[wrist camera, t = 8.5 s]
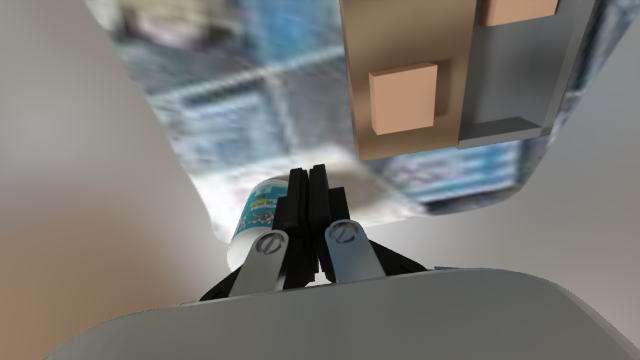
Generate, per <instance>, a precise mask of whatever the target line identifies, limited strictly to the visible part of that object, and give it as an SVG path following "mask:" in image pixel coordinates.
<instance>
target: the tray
mask: <svg viewBox="0 0 640 360" xmlns="http://www.w3.org/2000/svg"><path fill="white" fill-rule="evenodd" d="M594 3H595V0H558V2H557V6H556V9H555V13H554V15H550V16H545V17H539V18H534V19H528V20H523V21H517V22H512V23H506V24H501V25H495V26H479V24H480V17H481V11H482V4H483V0H477V1H476V8H475V16H474V23H473V31H472V38H471V46H470V54H469V61H468V69H467V76H466V84H465V91H464V99H463V107H462V114H461V122H460V129H459V137H458V144H457V146H455V147H456V148H457V149H459V150H460V149H466V148H472V147H478V146H485V145H491V144H497V143H503V142H509V141H515V140H522V139H528V138H534V137H540V136H546V135H550V133H551V130H552V127H553V124H554V121H555V118H556V115H557V112H558V109H559V106H560V103H561V100H562V98H563V95H564V92H565V89H566V86H567V83H568V80H569V77H570V74H571V71H572V68H573V65H574V62H575V59H576V56H577V53H578V50H579V47H580V44H581V41H582V38H583V35H584V32H585V29H586V26H587V24H588V21H589V18H590V15H591V12H592V9H593V6H594Z"/></svg>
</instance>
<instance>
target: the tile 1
mask: <svg viewBox="0 0 640 360" xmlns="http://www.w3.org/2000/svg"><path fill="white" fill-rule="evenodd" d="M436 78H437V65H435V64H432V63H429V62H425V63H420V64H415V65H409V66H404V67H398V68H393V69H388V70H382V71H377V72H372V73H369V81H370V98H371V114H372V128H373V129H374V131H375V133H376V134H377V135H381V134H387V133H393V132H399V131H405V130H411V129H416V128H422V127H428V126H433V120H434V106H435V92H436Z"/></svg>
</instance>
